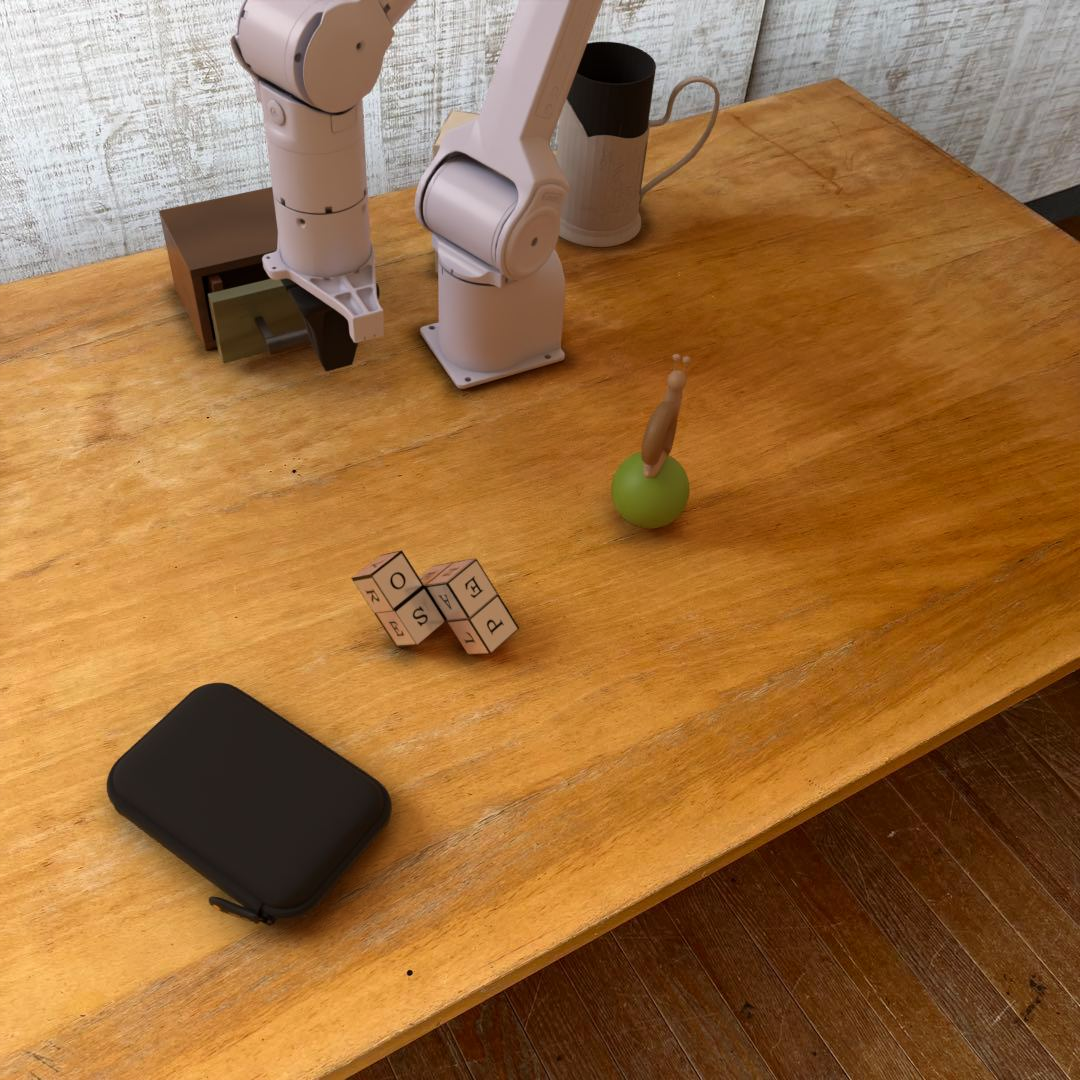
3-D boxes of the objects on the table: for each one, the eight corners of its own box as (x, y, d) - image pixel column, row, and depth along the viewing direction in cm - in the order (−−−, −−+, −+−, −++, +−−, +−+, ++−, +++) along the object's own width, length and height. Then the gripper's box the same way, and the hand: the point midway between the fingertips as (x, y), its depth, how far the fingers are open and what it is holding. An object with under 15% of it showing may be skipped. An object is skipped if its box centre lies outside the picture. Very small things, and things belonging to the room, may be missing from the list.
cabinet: (355, 312, 97) (349, 233, 91) (205, 350, 93) (189, 270, 87) (319, 256, 102) (311, 178, 96) (175, 290, 98) (158, 210, 92)
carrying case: (80, 815, 65) (279, 965, 61) (67, 788, 63) (273, 941, 58) (217, 688, 72) (407, 814, 67) (209, 658, 69) (406, 787, 64)
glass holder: (542, 193, 110) (552, 37, 99) (688, 192, 112) (715, 38, 101) (552, 247, 105) (565, 88, 94) (707, 245, 106) (738, 88, 95)
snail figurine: (694, 491, 85) (723, 363, 76) (672, 553, 81) (700, 425, 72) (623, 471, 86) (643, 343, 77) (597, 531, 82) (616, 402, 73)
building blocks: (474, 632, 78) (411, 531, 76) (519, 628, 74) (453, 522, 72) (418, 680, 75) (351, 578, 73) (461, 679, 71) (391, 570, 69)
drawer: (381, 358, 92) (378, 297, 88) (239, 396, 88) (229, 334, 84) (329, 276, 99) (324, 216, 94) (195, 308, 95) (183, 247, 90)
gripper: (220, 143, 74) (247, 316, 84) (297, 268, 66) (317, 444, 76) (325, 123, 77) (339, 293, 87) (413, 241, 68) (417, 414, 78)
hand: (335, 362), depth 81 cm, fingers closed
